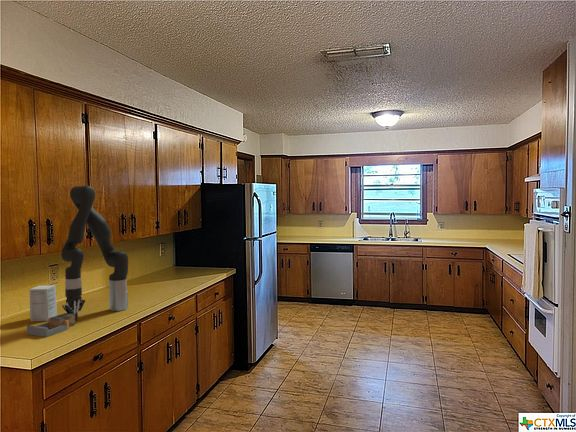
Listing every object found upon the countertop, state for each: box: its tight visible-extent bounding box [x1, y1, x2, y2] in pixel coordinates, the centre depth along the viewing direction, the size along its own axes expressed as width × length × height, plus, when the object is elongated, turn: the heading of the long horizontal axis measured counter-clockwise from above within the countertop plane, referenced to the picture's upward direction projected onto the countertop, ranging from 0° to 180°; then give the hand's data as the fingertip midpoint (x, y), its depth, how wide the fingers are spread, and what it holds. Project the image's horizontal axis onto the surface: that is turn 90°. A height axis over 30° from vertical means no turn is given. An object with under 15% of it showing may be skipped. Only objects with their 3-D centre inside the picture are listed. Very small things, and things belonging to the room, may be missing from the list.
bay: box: [26, 318, 70, 338], centre depth 202 cm, size 12×12×4 cm
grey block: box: [50, 312, 76, 330], centre depth 209 cm, size 9×6×6 cm, turn 159°
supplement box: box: [28, 285, 58, 322], centre depth 223 cm, size 10×9×17 cm
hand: (74, 320), depth 216 cm, fingers closed
